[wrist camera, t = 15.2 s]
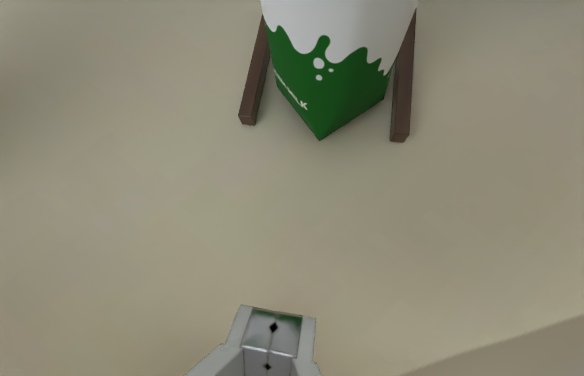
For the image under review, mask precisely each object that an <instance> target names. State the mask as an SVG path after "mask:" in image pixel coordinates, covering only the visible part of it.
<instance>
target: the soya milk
mask: <svg viewBox="0 0 584 376" xmlns="http://www.w3.org/2000/svg"><path fill="white" fill-rule="evenodd" d="M418 1H419V0H260V2H261V7H262V12H263V17H264V22H265V27H266V32H267V38H268V43H269V48H270V53H271V58H272V63H273V68H274V73H275V78H276V83H277V87H278V88H279V89H280V91H281V92H282V93H283V95H284V96H285V97H286V98H287V100H288V101H289V102H290V103H291V105H292V106H293V107H294V109H295V110H296V111H297V112H298V114H299V115H300V116H301V118H302V119H303V120H304V121H305V123H306V124H307V125H308V127H309V128H310V129H311V130H312V132H313V133H314V134H315V136H316V137H317V138H318V139H319V141H320V140H322V139H323V138H325V137H326V136H328V135H329V134H331V133H332V132H334V131H335V130H337V129H338V128H340V127H341V126H343V125H345V124H346V123H348V122H349V121H351V120H352V119H354V118H355V117H357V116H358V115H360V114H361V113H363V112H365V111H366V110H368V109H369V108H371V107H372V106H374V105H375V104H377V103H378V102H380V101H381V100H383V99H384V96H385V93H386V89H387V85H388V81H389V78H390V74H391V70H392V67H393V64H394V62H395V59H396V57H397V54H398V52H399V49H400V47H401V44H402V42H403V39H404V37H405V34H406V32H407V29H408V27H409V24H410V22H411V19H412V17H413V14H414V11H415V9H416V6H417V4H418Z"/></svg>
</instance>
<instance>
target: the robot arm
mask: <svg viewBox="0 0 584 376" xmlns="http://www.w3.org/2000/svg"><path fill="white" fill-rule="evenodd" d="M301 326H302V327H301ZM315 329H316V318H312V317H306V316H303V315H297V314H291V313H285V312H280V311H278V312H277V311H272V310H267V309H262V308H258V307H253V306H248V305H243V304H241V305H240V307H239V308H238V311H237V313H236V316H235V319H234V321H233V324H232V326H231V329H230V332H229V334H228V337H227V339H226V342H225V344H220V345H219V346H217V347H216V348H215V349H214V350H213V351H212V352H210V353H209V354H208V355H207V356H206V357H204V358H203V359H202V360H201V361H200V362H199V363H197V364H196V365H195V366H194V367H193V368H192V369H190V370H189V371H188V372H187V373H186V374H184V375H183V376H322V374H321V372H320V370H319V368H318V366H317V363H314V362H312V361H313V350H314V340H315Z"/></svg>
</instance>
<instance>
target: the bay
mask: <svg viewBox="0 0 584 376" xmlns="http://www.w3.org/2000/svg"><path fill="white" fill-rule="evenodd" d="M415 25H416V9H415V11H414V14H413V17H412V19H411V22H410V24H409V27H408V29H407V32H406V34H405V37H404V39H403V42H402V44H401V47H400V49H399V52H398V54H397V57H396V64H395V77H394V90H393V103H392V117H391V130H390V141H396V142H404V141H405V140H406V138H407V137H408V136H409V132H410V114H411V97H412V79H413V61H414V43H415ZM269 57H270V48H269V43H268V38H267V32H266V27H265V22H264V17H263V14H262V18H261V22H260V26H259V30H258V35H257V39H256V43H255V47H254V51H253V56H252V60H251V64H250V68H249V72H248V76H247V81H246V85H245V89H244V93H243V97H242V102H241V106H240V110H239V114H238V116H239V118H240V120H241V123H242V124H247V125H255V121H256V116H257V112H258V107H259V102H260V98H261V93H262V89H263V84H264V80H265V75H266V70H267V66H268V61H269Z"/></svg>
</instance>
